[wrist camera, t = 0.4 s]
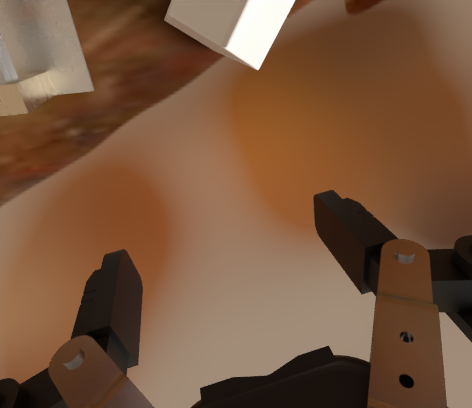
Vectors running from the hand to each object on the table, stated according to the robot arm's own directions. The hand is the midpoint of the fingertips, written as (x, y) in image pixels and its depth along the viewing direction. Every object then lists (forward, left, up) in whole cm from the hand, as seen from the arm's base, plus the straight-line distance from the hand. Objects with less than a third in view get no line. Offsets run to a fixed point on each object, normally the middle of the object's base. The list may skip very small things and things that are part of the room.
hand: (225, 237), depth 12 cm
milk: (-9, +3, -28) cm, 30 cm away
